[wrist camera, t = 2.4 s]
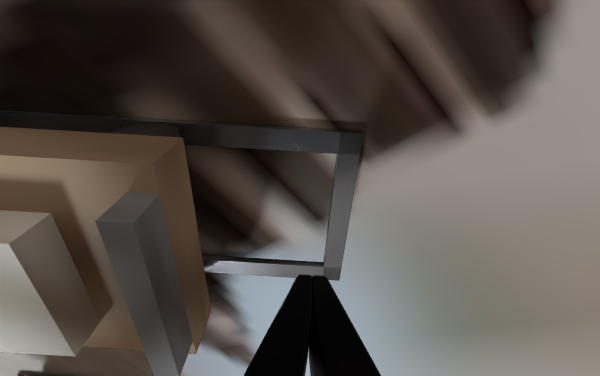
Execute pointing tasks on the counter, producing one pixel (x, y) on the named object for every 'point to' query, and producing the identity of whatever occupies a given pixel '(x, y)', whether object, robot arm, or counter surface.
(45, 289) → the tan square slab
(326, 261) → the rails
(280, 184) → the counter surface
